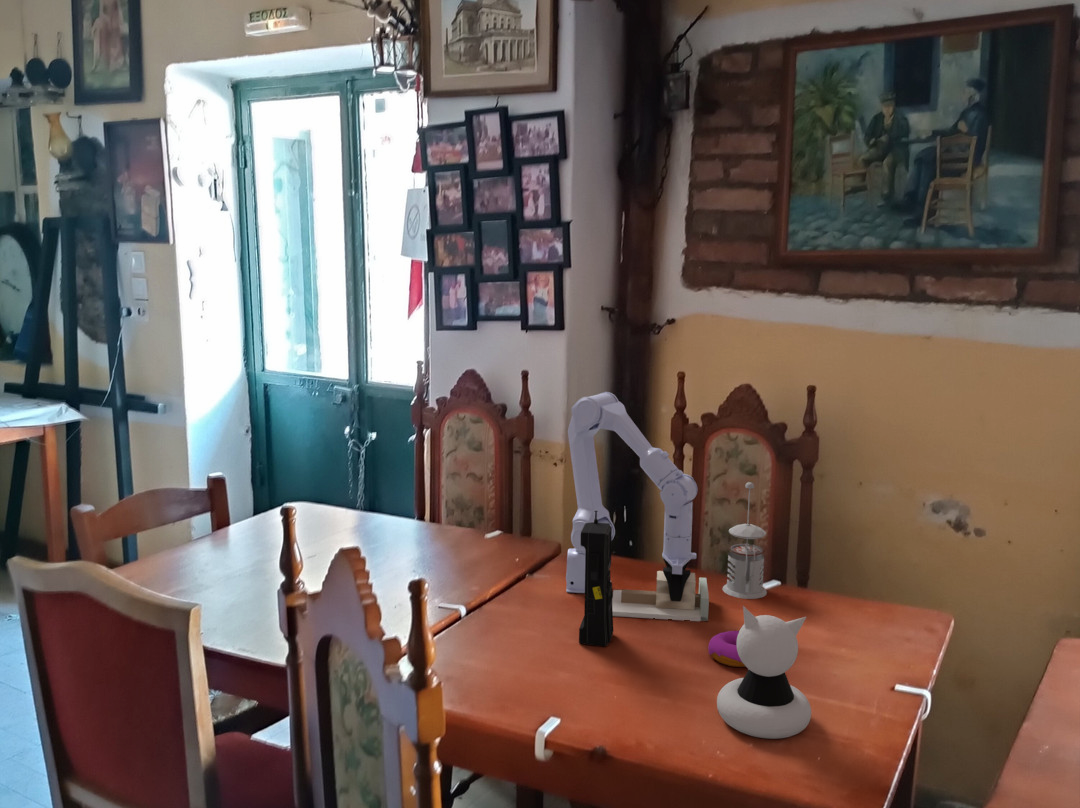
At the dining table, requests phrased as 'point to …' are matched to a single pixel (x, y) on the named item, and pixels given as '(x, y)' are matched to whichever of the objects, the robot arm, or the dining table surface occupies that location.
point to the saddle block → (664, 596)
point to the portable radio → (597, 584)
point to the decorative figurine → (765, 681)
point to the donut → (725, 649)
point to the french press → (746, 562)
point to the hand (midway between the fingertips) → (675, 595)
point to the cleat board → (645, 607)
